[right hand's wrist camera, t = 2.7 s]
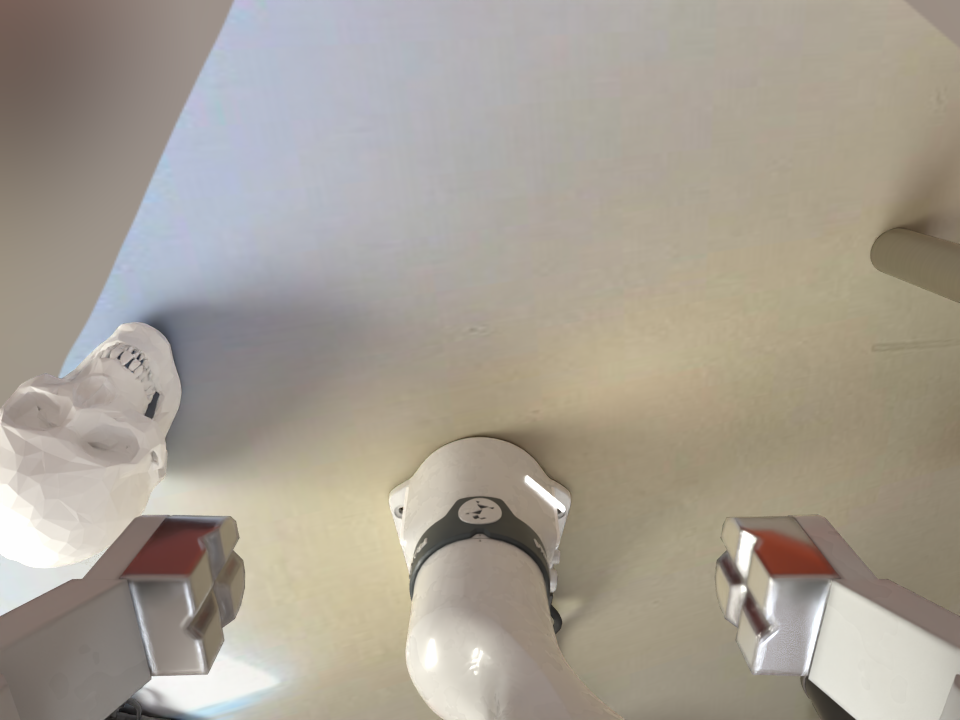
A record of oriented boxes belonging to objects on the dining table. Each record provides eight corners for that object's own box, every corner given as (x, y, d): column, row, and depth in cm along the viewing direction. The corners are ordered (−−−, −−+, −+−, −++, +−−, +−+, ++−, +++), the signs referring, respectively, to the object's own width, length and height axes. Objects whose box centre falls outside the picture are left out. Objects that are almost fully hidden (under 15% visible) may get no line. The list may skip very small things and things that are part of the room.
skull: (220, 342, 60) (128, 415, 45) (163, 521, 67) (68, 634, 53) (81, 284, 59) (-62, 340, 44) (38, 474, 66) (-97, 577, 51)
